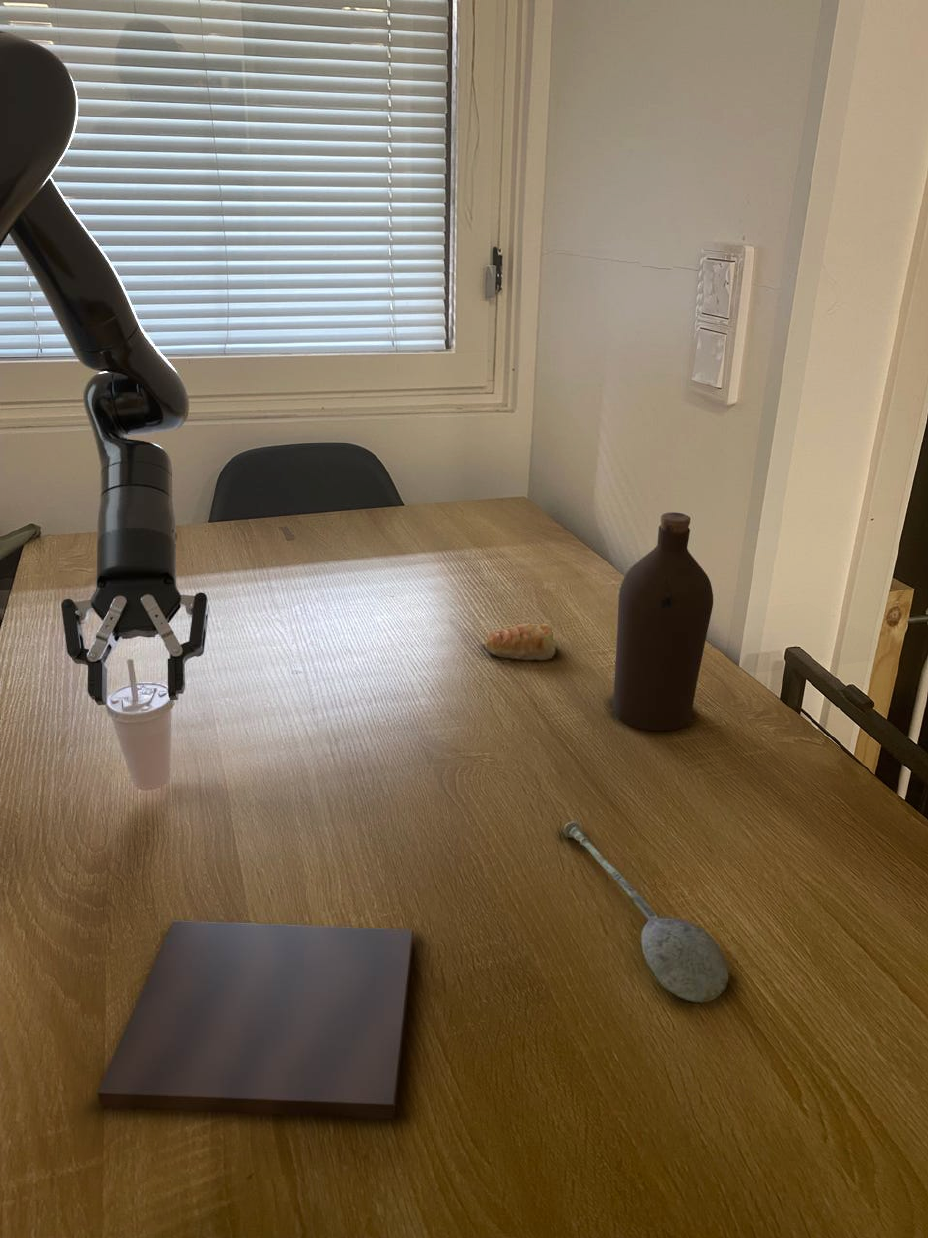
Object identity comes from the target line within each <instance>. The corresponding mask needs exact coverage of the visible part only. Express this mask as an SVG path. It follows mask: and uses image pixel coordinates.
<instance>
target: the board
mask: <svg viewBox="0 0 928 1238" xmlns="http://www.w3.org/2000/svg"><path fill="white" fill-rule="evenodd" d="M413 947H414V930H413V929H407V928H406V929H405V928H403V929H402V928H400V929H399V928H377V927H376V928H375V927H352V926H348V927H347V926H325V925H299V924H298V925H297V924H273V923H271V924H270V923H268V924H267V923H248V922H247V923H245V922H218V921H216V922H215V921H192V920H191V921H190V920H172V922H171V924H170V927H169V929H168V931H167V934H166V935H165V938H164V940H163V942H162V944H161V947H160V950H159V952H158V953H157V956H156V958H155V960H154V963H153V966H152V968H151V970H150V972H149V975H148V977H147V979H146V981H145V983H144V986H143V989H142V991H141V993H140V994H139V997H138V1000H137V1001H136V1004H135V1006H134V1008H133V1011H132V1013H131V1015H130V1018H129V1020H128V1022H127V1024H126V1027H125V1029H124V1032H123V1034H122V1036H121V1038H120V1041H119V1043H118V1044H117V1047H116V1049H115V1052H114V1054H113V1056H112V1059H111V1061H110V1063H109V1065H108V1068H107V1070H106V1073H105V1075H104V1077H103V1079H102V1081H101V1084H100V1086H99V1088H98V1091H97V1096H98V1101H99V1106H100V1108H110V1109H111V1108H114V1109H133V1110H134V1109H135V1110H136V1109H137V1110H138V1109H139V1110H160V1111H183V1112H184V1111H187V1112H206V1113H207V1112H209V1113H232V1114H233V1113H237V1114H258V1115H259V1114H260V1115H284V1116H309V1117H330V1118H331V1117H333V1118H352V1119H353V1118H355V1119H356V1118H357V1119H378V1120H379V1119H382V1120H394V1119H395V1116H396V1107H397V1097H398V1087H399V1079H400V1071H401V1069H400V1068H401V1062H402V1061H401V1059H402V1051H403V1050H402V1049H403V1042H404V1041H403V1039H404V1031H405V1022H406V1012H407V1003H408V996H409V995H408V994H409V992H408V991H409V985H410V975H411V966H412V965H411V964H412V956H413Z"/></svg>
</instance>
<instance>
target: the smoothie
mask: <svg viewBox="0 0 928 1238" xmlns="http://www.w3.org/2000/svg"><path fill="white" fill-rule="evenodd" d="M126 663H127V671H128V678H129V684H127V685H124V686H121V687H119V688H117V689H116V690H114V691H112V692H111V693H110V694H109V695H107V704H106V705H105V707H106V710H105V711H106V714H107V716H108V717H109V718H110V719H111V721H112V724H113V726H114V730H115V732H116V736H117V739H118V742H119V746H120V748H121V751H122V754H123V758H124V761H125V764H126V767H127V770H128V774H129V776H130V779H131V780H130V781H131V784H132V785H133V787H134V788H135V789H138V790H141V791H152V790H157V789H160V788H162V787H164V786H166V785H167V784H168V783H169V782H170V780H171V772H172V771H171V769H172V767H171V765H172V764H171V763H172V719H173V718H172V710H173V709H174V706H175V705H176V700H170V698H169V696H168V685H166V684H162V683H159V682H153V681H142V682H141V681H140V682H137V677H136V669H135V664H134V659H133V658H128V659H127V660H126Z"/></svg>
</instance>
